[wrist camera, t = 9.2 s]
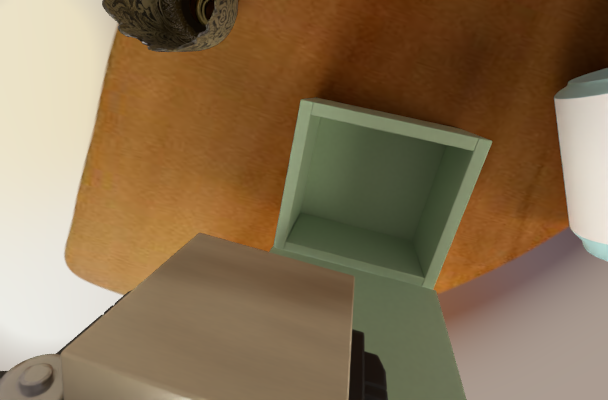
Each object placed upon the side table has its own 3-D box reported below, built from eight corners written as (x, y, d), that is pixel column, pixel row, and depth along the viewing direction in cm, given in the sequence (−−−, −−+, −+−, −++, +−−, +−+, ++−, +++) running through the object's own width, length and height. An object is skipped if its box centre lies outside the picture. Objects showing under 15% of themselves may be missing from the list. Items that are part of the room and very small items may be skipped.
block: (198, 231, 10) (58, 352, 5) (355, 275, 10) (347, 449, 5) (186, 351, 12) (71, 520, 7) (318, 393, 11) (286, 603, 7)
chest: (315, 97, 26) (300, 98, 20) (460, 128, 25) (492, 140, 19) (292, 215, 30) (272, 248, 24) (417, 247, 29) (432, 290, 22)
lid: (190, 400, 13) (189, 413, 13) (494, 497, 11) (485, 509, 12) (271, 246, 23) (270, 256, 23) (436, 290, 22) (431, 299, 22)
